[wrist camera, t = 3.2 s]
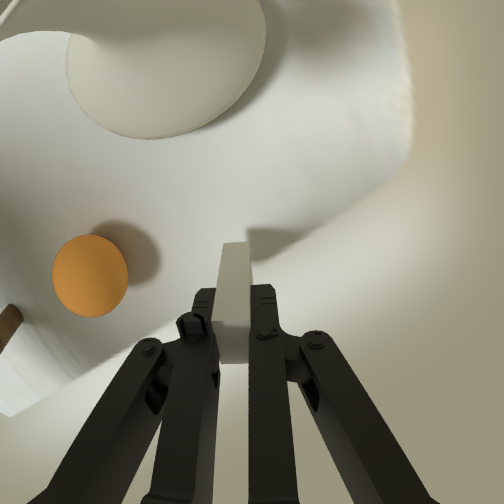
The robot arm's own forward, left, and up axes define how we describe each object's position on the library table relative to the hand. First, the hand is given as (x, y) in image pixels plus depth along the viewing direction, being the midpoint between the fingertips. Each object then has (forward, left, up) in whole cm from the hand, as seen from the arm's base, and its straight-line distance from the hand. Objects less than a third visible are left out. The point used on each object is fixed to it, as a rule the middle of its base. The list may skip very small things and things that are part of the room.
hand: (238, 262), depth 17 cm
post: (-26, -6, -2) cm, 27 cm away
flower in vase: (-4, +14, -2) cm, 14 cm away
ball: (-10, 0, +1) cm, 10 cm away
